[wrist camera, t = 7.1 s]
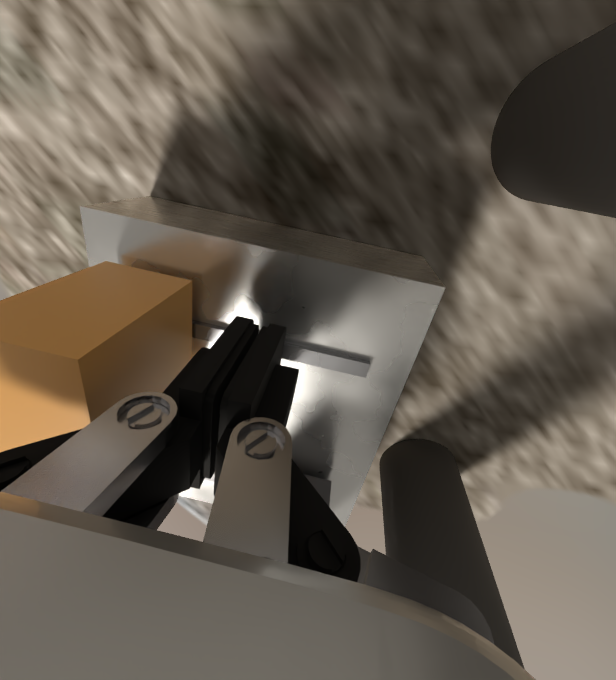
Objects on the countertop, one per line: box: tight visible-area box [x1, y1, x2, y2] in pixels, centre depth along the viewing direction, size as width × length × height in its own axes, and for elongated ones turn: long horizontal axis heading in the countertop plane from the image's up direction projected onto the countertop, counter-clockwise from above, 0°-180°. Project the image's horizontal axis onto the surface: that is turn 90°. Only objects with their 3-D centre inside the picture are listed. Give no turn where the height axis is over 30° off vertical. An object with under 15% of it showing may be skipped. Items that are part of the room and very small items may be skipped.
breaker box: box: [80, 196, 445, 527], centre depth 15 cm, size 12×14×4 cm
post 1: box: [380, 439, 524, 668], centre depth 11 cm, size 4×4×18 cm
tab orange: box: [0, 261, 192, 452], centre depth 9 cm, size 3×4×5 cm
